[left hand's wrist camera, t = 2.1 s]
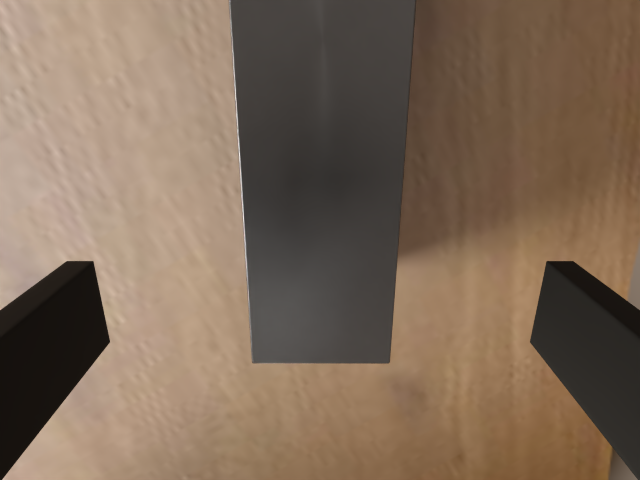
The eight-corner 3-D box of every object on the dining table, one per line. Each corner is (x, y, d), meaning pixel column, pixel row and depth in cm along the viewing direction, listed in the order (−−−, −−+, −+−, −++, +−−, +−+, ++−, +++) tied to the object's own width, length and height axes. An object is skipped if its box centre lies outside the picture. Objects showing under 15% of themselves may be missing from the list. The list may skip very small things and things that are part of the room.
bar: (366, 268, 26) (390, 364, 17) (274, 268, 26) (251, 363, 17) (390, -263, 18) (460, -593, 9) (253, -264, 18) (190, -595, 9)
